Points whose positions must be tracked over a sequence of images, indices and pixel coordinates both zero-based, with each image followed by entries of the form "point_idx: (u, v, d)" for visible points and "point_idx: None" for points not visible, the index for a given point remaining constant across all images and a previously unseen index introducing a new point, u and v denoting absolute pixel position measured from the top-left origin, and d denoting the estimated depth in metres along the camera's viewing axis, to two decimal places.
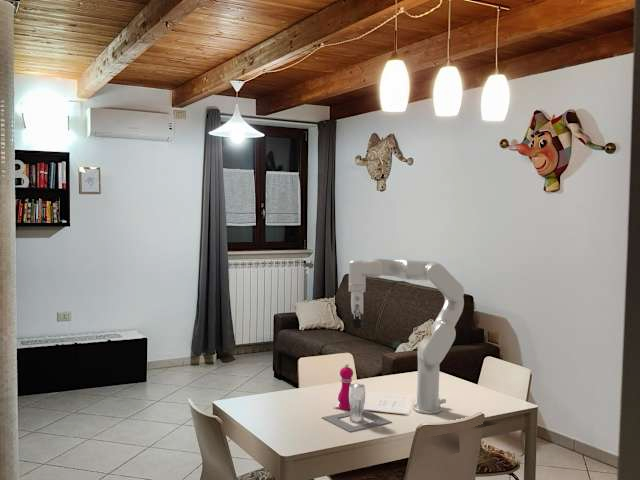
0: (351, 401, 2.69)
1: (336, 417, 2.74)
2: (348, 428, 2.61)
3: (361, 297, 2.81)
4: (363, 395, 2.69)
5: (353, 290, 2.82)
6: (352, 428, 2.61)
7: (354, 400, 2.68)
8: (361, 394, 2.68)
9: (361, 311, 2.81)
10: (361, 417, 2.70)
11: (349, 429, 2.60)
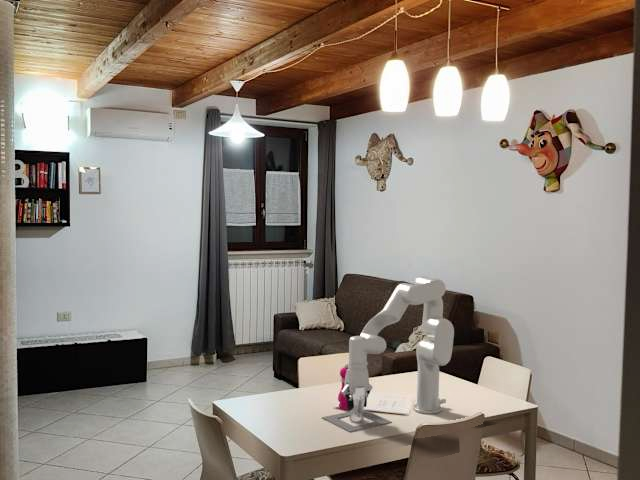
0: None
1: (336, 417, 2.74)
2: (348, 428, 2.61)
3: None
4: (363, 395, 2.69)
5: None
6: (352, 428, 2.61)
7: (354, 400, 2.68)
8: (361, 394, 2.68)
9: None
10: (361, 417, 2.70)
11: (349, 429, 2.60)
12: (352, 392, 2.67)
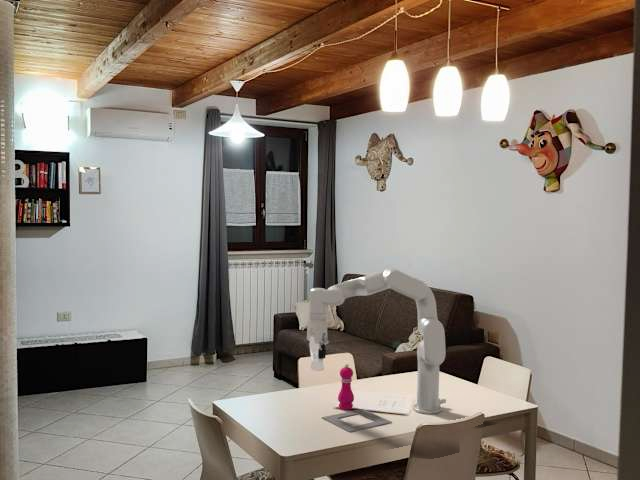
0: None
1: (336, 417, 2.74)
2: (348, 428, 2.61)
3: None
4: None
5: None
6: (352, 428, 2.61)
7: None
8: None
9: None
10: None
11: (349, 429, 2.60)
12: None
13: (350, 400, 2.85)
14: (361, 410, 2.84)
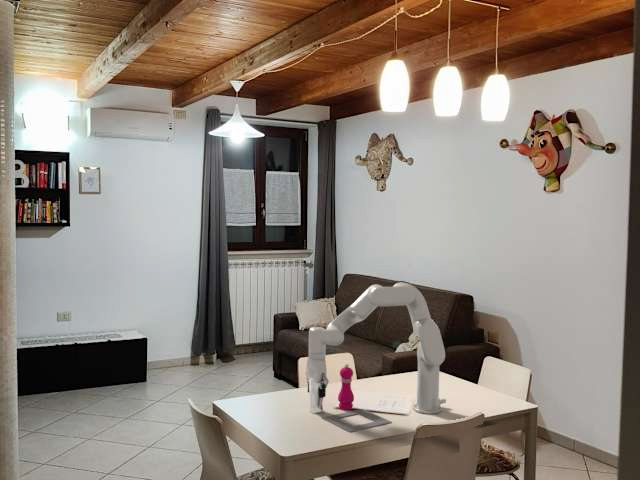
0: None
1: (336, 417, 2.74)
2: (348, 428, 2.61)
3: None
4: None
5: None
6: (352, 428, 2.61)
7: None
8: None
9: None
10: None
11: (349, 429, 2.60)
12: None
13: (350, 400, 2.85)
14: (361, 410, 2.84)
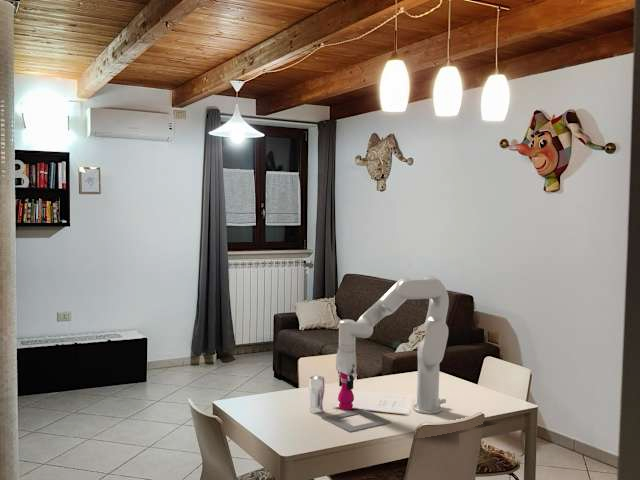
0: (321, 393, 2.80)
1: (336, 417, 2.74)
2: (348, 428, 2.61)
3: None
4: None
5: None
6: (352, 428, 2.61)
7: (324, 390, 2.82)
8: None
9: None
10: None
11: (349, 429, 2.60)
12: None
13: (350, 400, 2.85)
14: (361, 410, 2.84)
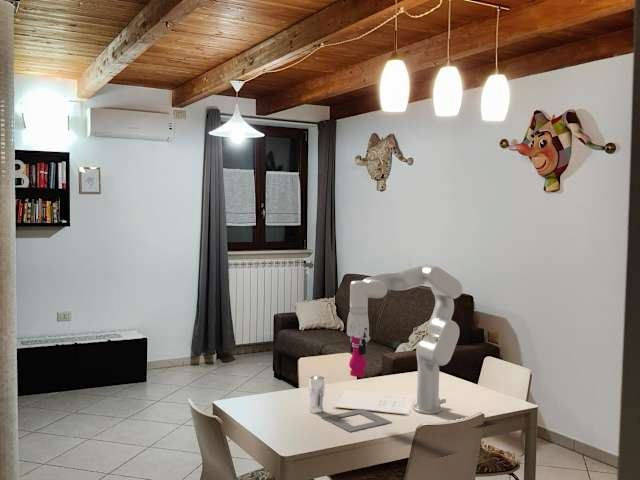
0: (321, 393, 2.80)
1: (336, 417, 2.74)
2: (348, 428, 2.61)
3: None
4: None
5: None
6: (352, 428, 2.61)
7: (324, 390, 2.82)
8: None
9: None
10: None
11: (349, 429, 2.60)
12: None
13: (362, 366, 2.68)
14: (361, 410, 2.84)
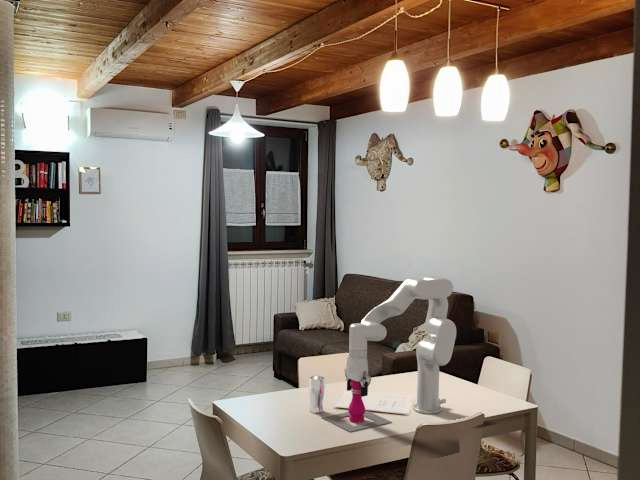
0: (321, 393, 2.80)
1: (336, 417, 2.74)
2: (348, 428, 2.61)
3: None
4: None
5: None
6: (352, 428, 2.61)
7: (324, 390, 2.82)
8: None
9: None
10: None
11: (349, 429, 2.60)
12: None
13: (361, 412, 2.69)
14: None
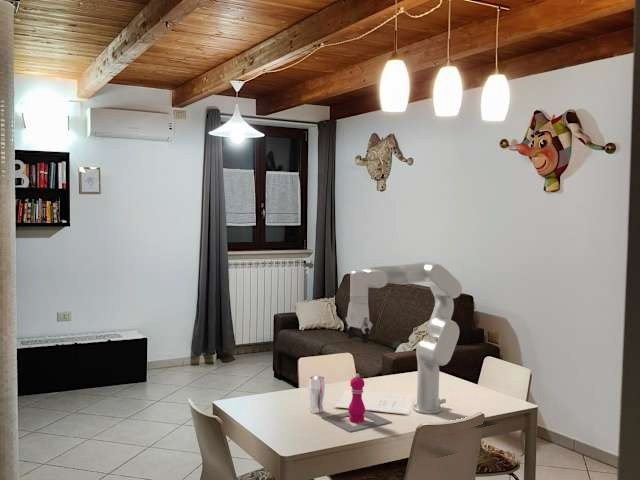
0: (321, 393, 2.80)
1: (336, 417, 2.74)
2: (348, 428, 2.61)
3: None
4: None
5: None
6: (352, 428, 2.61)
7: (324, 390, 2.82)
8: None
9: None
10: None
11: (349, 429, 2.60)
12: None
13: (361, 412, 2.69)
14: None
